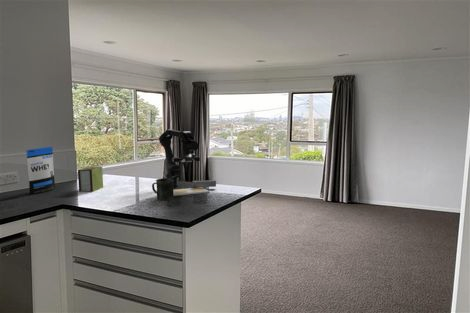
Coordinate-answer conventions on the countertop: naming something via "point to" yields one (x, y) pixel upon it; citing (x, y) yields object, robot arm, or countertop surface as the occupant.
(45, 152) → the protein powder
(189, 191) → the label panel
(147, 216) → the countertop surface
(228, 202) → the countertop surface
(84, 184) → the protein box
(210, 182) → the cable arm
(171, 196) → the mug
